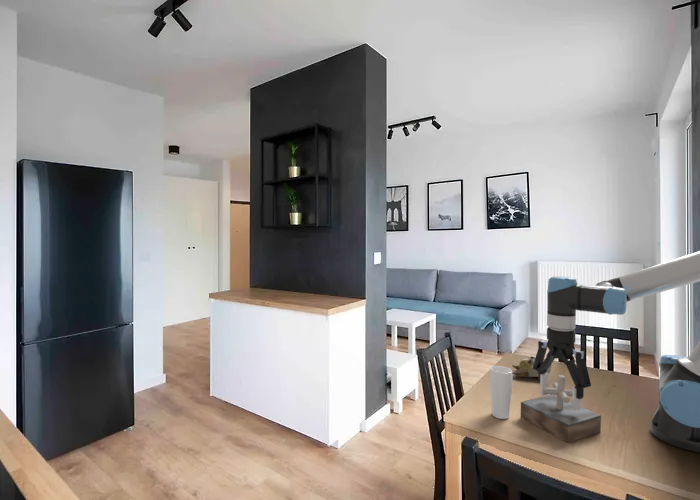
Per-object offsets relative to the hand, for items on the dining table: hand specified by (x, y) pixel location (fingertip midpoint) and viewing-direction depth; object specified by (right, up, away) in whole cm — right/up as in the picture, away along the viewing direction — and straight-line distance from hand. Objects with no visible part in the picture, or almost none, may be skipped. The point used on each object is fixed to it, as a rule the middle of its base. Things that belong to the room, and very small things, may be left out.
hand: (559, 401), depth 114 cm
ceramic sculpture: (+10, -6, +40) cm, 41 cm away
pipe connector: (0, -2, 0) cm, 2 cm away
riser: (0, -7, 0) cm, 7 cm away
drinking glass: (-16, -7, +6) cm, 18 cm away
